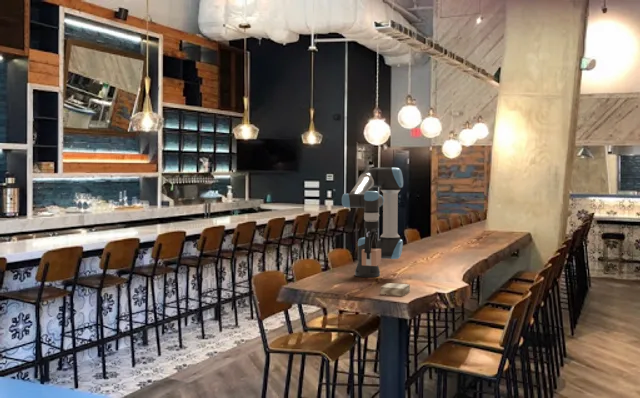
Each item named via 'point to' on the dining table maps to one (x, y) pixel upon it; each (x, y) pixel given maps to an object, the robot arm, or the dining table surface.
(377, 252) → the terracotta cube
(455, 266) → the dining table surface
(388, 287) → the mottled grey-green square block
